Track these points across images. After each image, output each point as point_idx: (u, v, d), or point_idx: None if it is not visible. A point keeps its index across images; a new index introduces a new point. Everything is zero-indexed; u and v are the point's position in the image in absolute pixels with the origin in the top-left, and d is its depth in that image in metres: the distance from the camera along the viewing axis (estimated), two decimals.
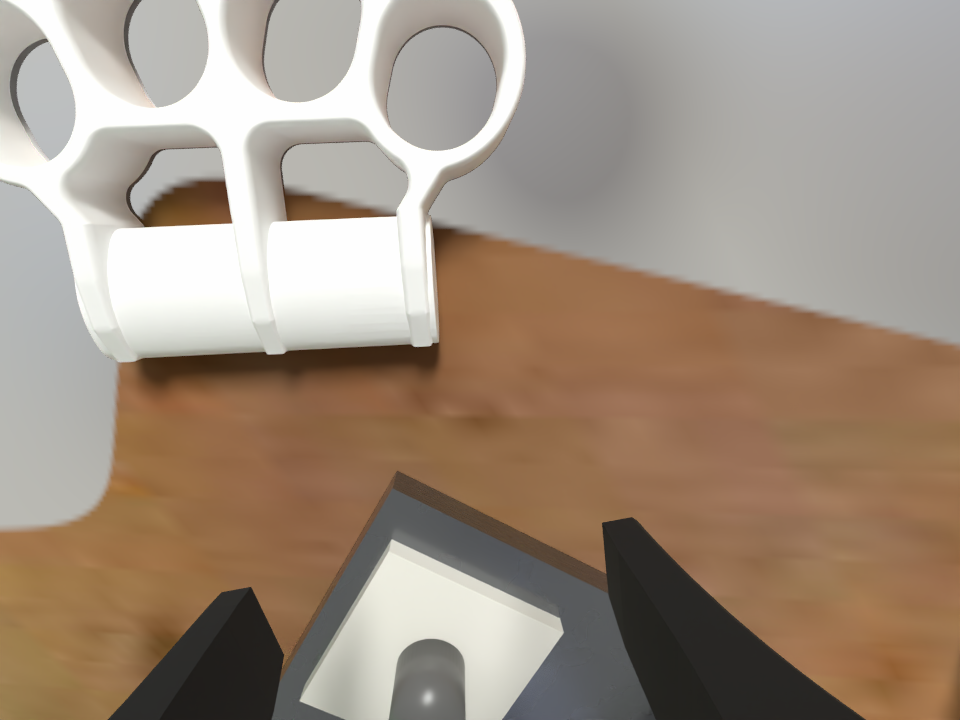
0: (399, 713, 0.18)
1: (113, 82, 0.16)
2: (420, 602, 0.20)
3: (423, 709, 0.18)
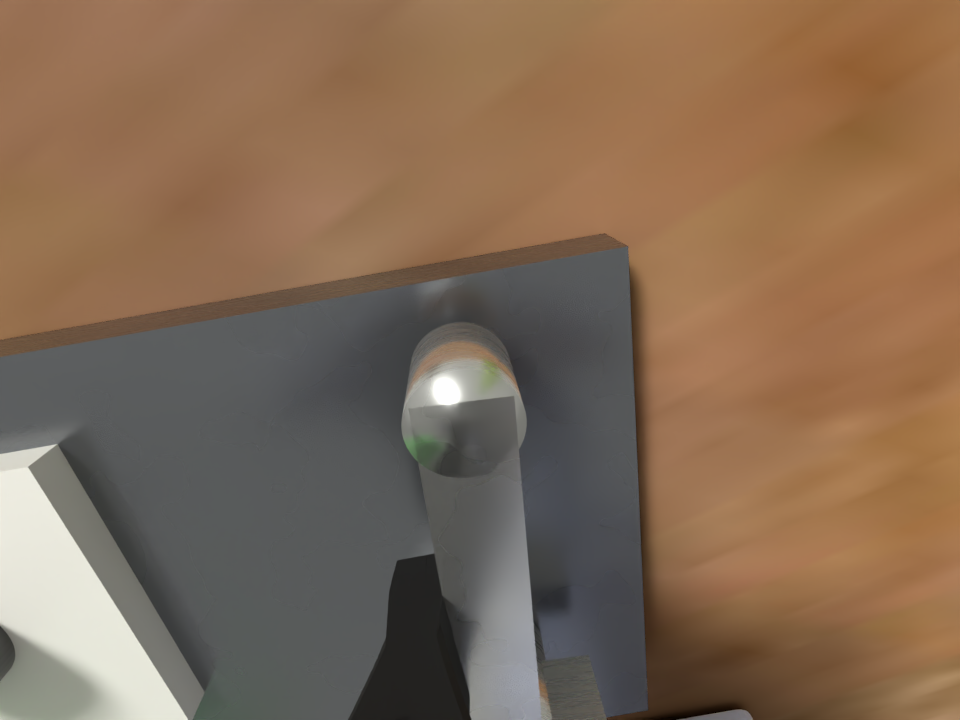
0: None
1: None
2: None
3: None
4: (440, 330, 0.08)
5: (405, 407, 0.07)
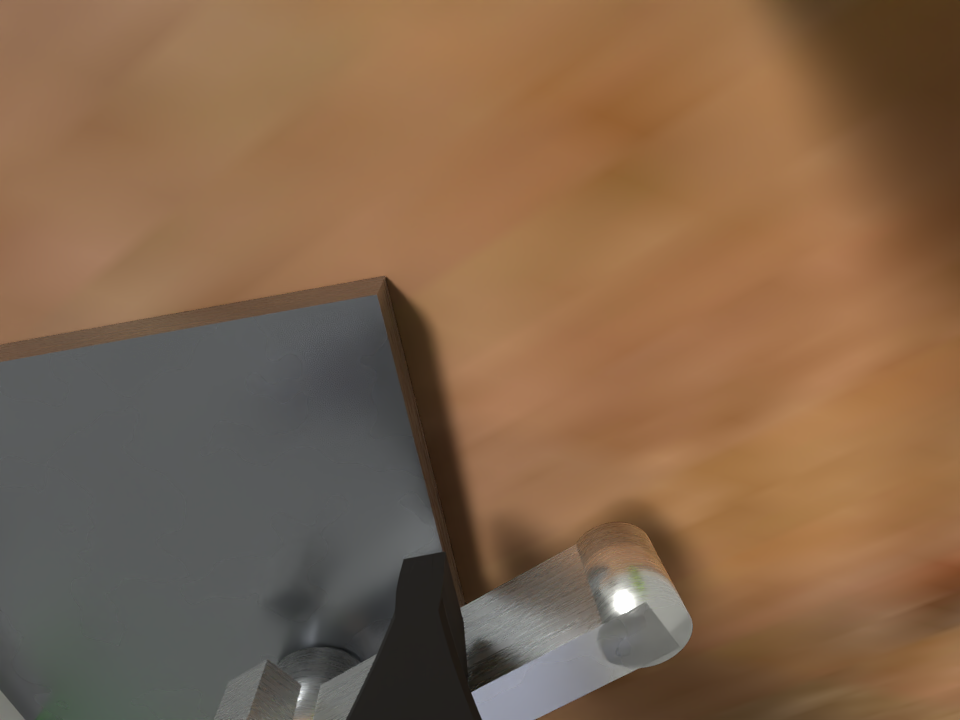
0: None
1: None
2: None
3: None
4: (645, 537, 0.11)
5: (646, 600, 0.09)
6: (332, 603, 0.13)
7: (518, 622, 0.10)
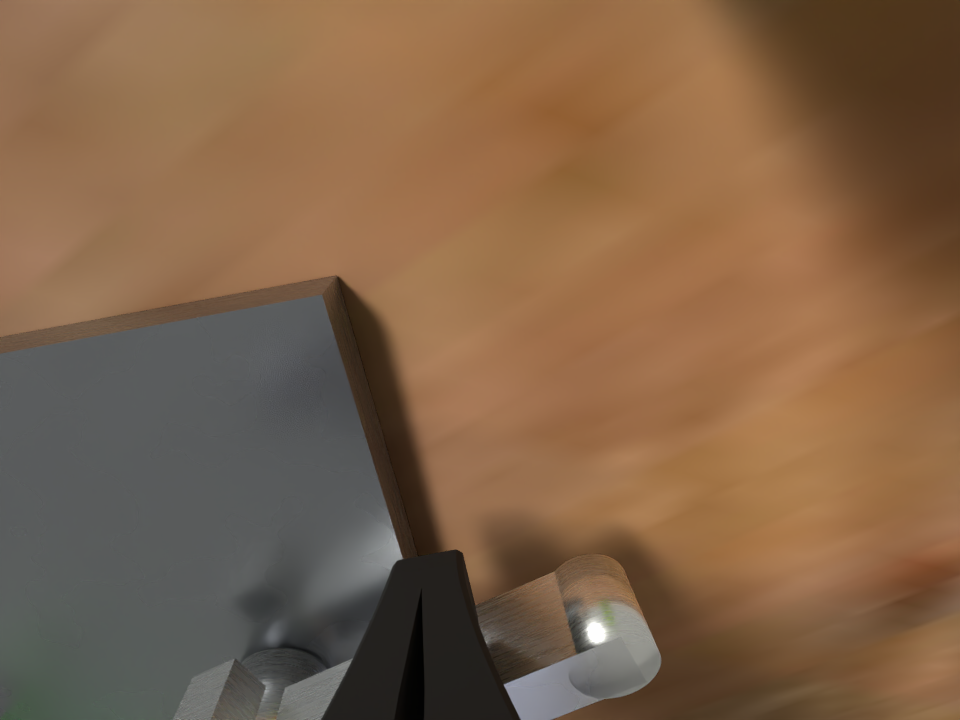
0: None
1: None
2: None
3: None
4: (622, 571, 0.11)
5: (621, 635, 0.09)
6: (291, 604, 0.13)
7: (493, 644, 0.10)
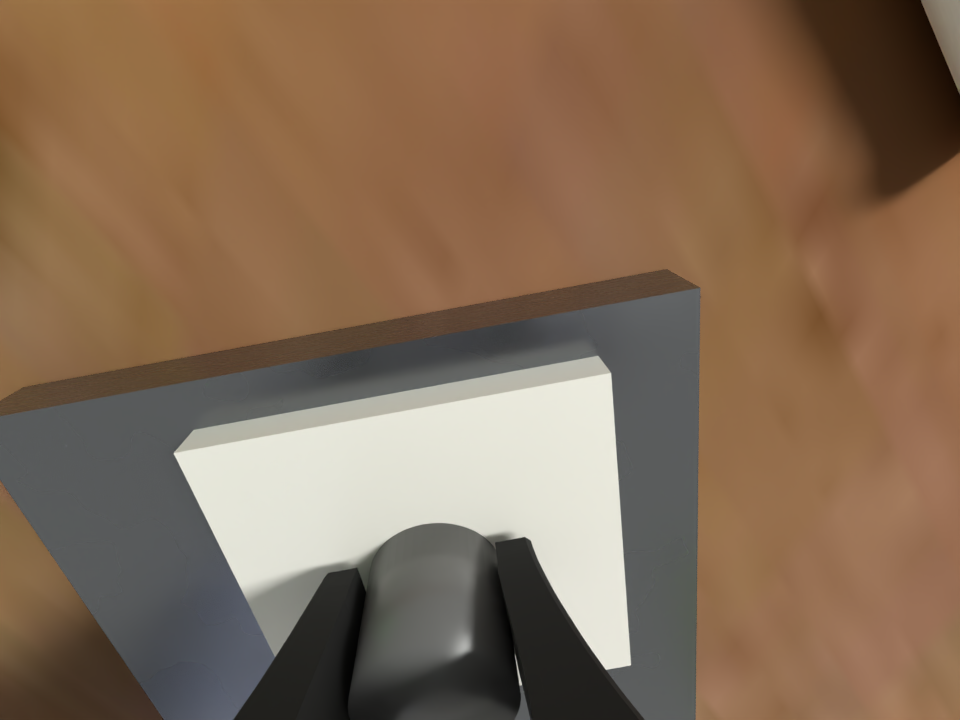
0: (433, 654, 0.08)
1: None
2: (544, 483, 0.10)
3: (475, 676, 0.08)
4: None
5: None
6: None
7: None
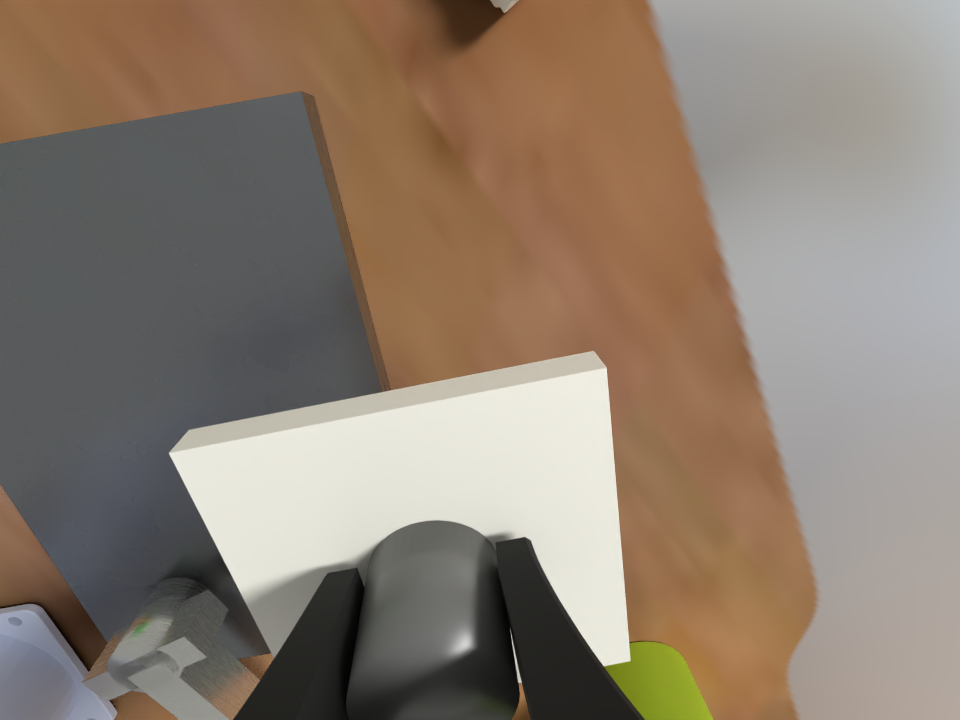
0: (430, 651, 0.08)
1: None
2: (541, 479, 0.10)
3: (473, 671, 0.08)
4: None
5: None
6: None
7: None
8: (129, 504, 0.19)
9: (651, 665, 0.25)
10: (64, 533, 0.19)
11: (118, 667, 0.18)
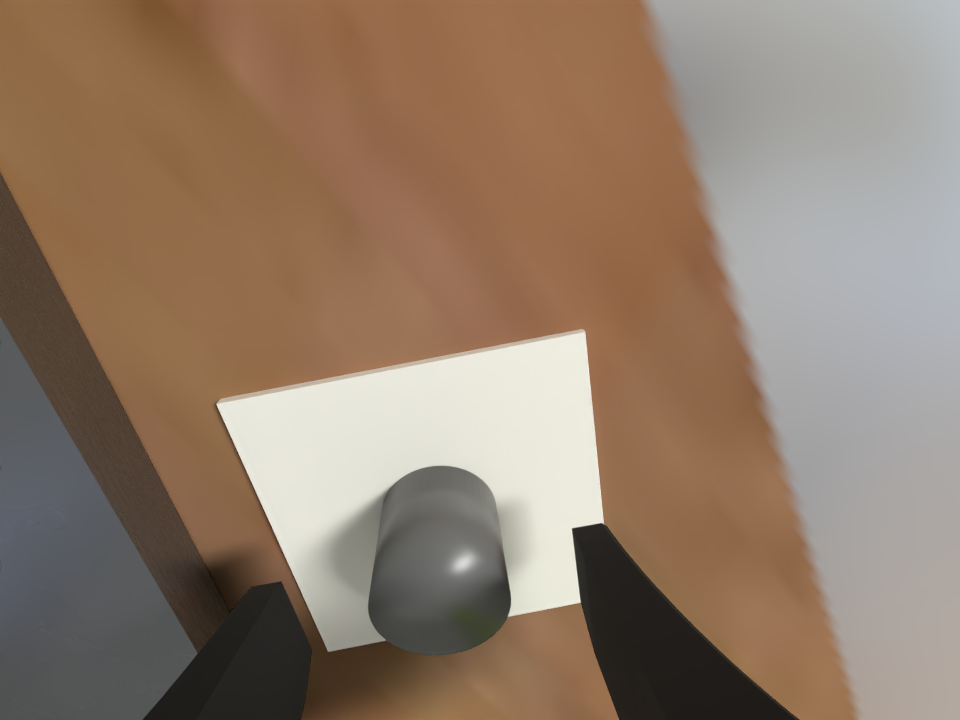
0: (438, 559, 0.09)
1: None
2: (531, 430, 0.12)
3: (473, 579, 0.10)
4: None
5: None
6: None
7: None
8: None
9: None
10: None
11: None
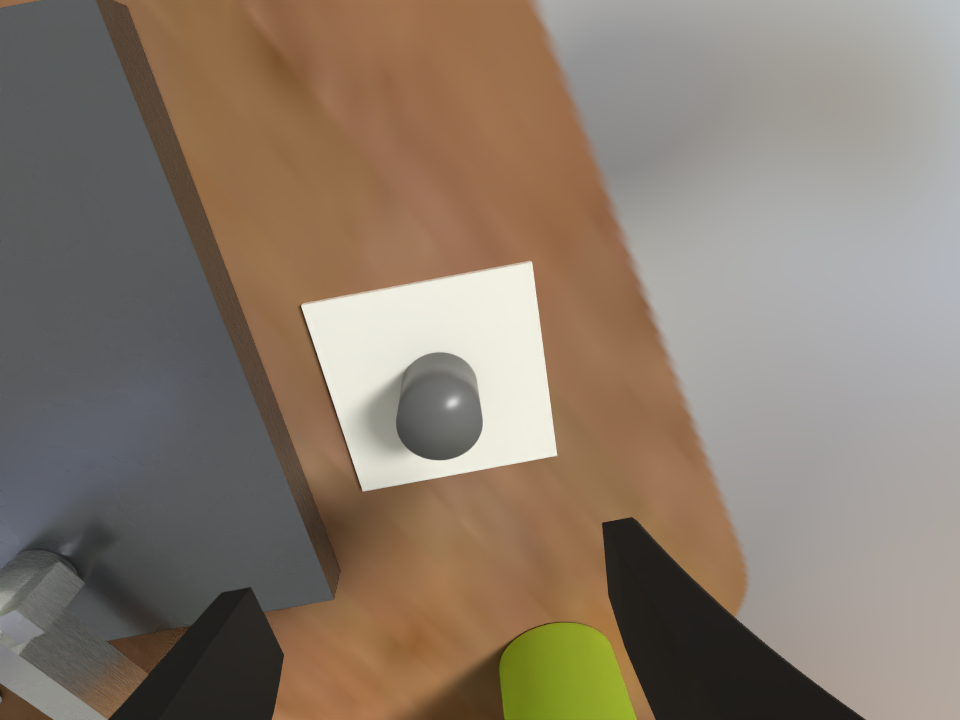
0: (438, 390, 0.16)
1: None
2: (499, 328, 0.18)
3: (459, 405, 0.16)
4: None
5: None
6: (120, 579, 0.20)
7: None
8: None
9: (567, 647, 0.23)
10: None
11: None
